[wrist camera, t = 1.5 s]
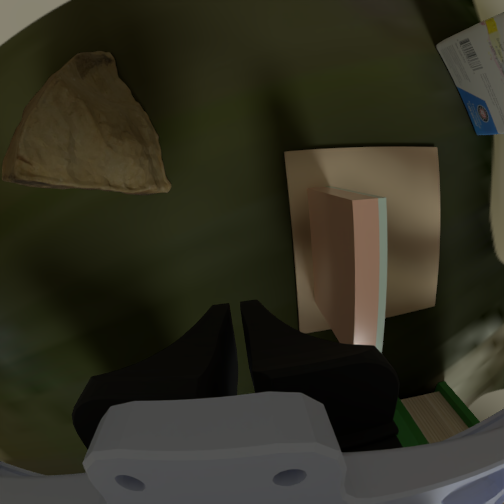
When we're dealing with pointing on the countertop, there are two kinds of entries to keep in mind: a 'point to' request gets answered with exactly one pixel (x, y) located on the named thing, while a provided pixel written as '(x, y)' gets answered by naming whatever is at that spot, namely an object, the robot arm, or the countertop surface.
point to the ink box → (479, 72)
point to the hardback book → (432, 417)
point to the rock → (86, 134)
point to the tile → (350, 262)
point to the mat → (398, 219)
